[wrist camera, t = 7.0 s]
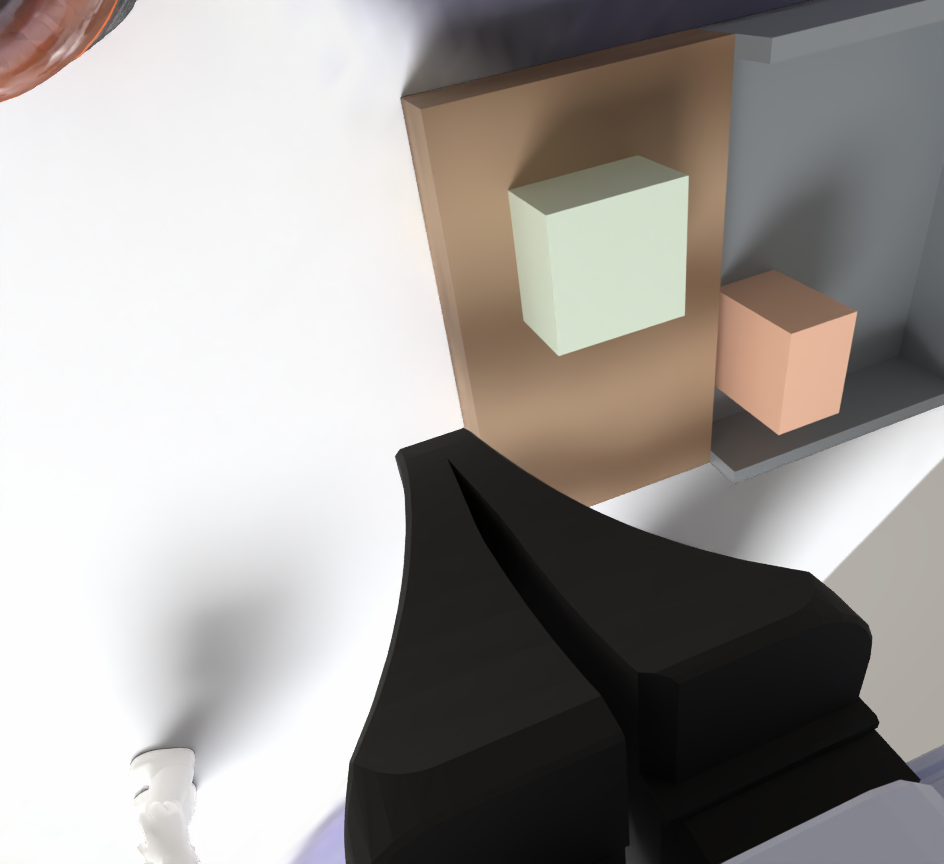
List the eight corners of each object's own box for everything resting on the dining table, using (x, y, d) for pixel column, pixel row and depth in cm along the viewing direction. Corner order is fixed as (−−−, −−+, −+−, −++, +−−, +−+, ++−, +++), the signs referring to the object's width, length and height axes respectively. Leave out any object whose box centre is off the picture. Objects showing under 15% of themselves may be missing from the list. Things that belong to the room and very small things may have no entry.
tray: (897, 358, 32) (966, 395, 29) (681, 435, 30) (733, 484, 27) (991, -42, 23) (1103, -44, 20) (692, 28, 21) (772, 37, 18)
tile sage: (639, 285, 22) (685, 315, 20) (523, 320, 22) (558, 355, 20) (638, 154, 20) (689, 175, 18) (507, 190, 19) (545, 215, 17)
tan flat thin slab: (681, 435, 30) (709, 462, 28) (480, 507, 28) (498, 540, 26) (692, 28, 21) (735, 33, 19) (400, 97, 19) (420, 109, 17)
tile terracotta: (709, 382, 28) (764, 363, 28) (778, 435, 25) (838, 412, 25) (714, 288, 25) (773, 269, 26) (791, 334, 22) (857, 311, 23)
